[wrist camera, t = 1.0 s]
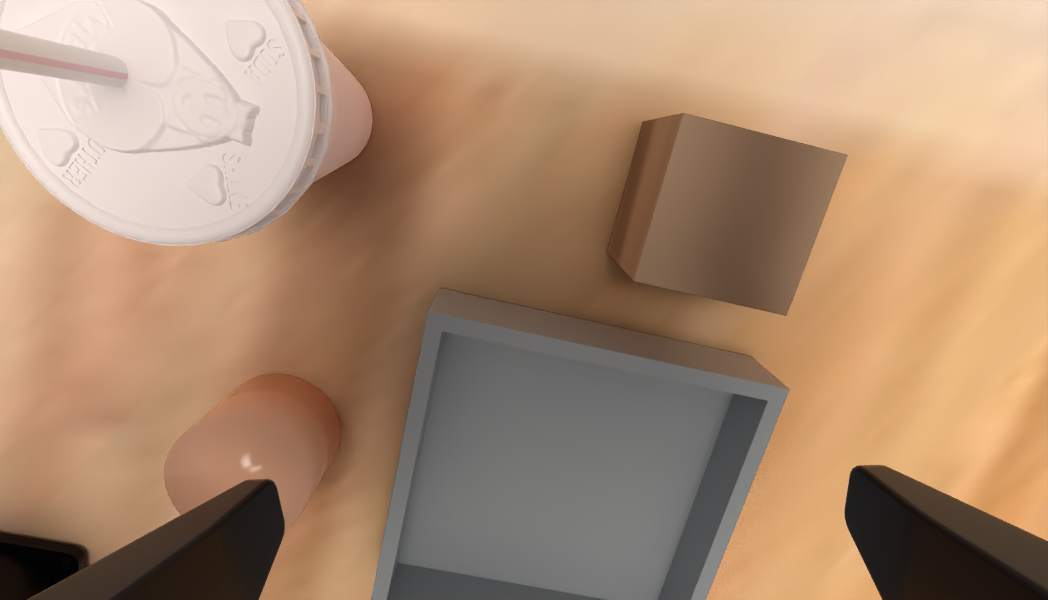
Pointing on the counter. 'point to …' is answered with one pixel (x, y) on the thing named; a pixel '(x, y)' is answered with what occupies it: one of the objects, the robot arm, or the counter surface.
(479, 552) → the tray
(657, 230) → the walnut block
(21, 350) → the counter surface
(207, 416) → the brown short cylinder
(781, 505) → the counter surface
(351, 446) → the counter surface
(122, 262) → the counter surface
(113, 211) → the smoothie
